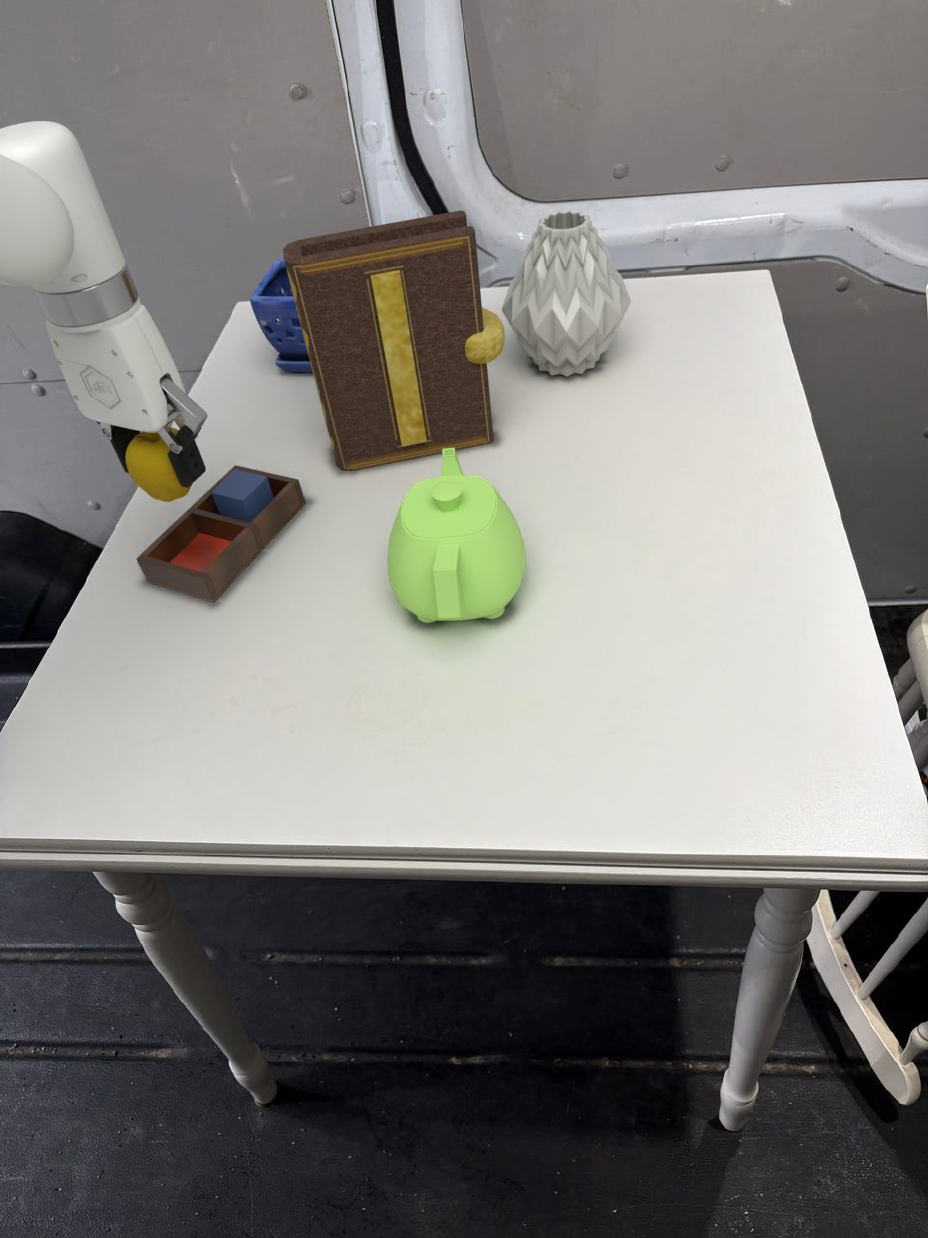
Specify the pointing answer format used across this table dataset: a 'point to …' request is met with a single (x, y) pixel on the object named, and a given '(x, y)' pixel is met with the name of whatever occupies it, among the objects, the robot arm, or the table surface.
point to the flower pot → (280, 319)
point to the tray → (217, 541)
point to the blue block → (242, 495)
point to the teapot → (455, 548)
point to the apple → (153, 467)
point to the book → (397, 338)
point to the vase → (566, 295)
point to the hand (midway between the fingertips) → (165, 470)
